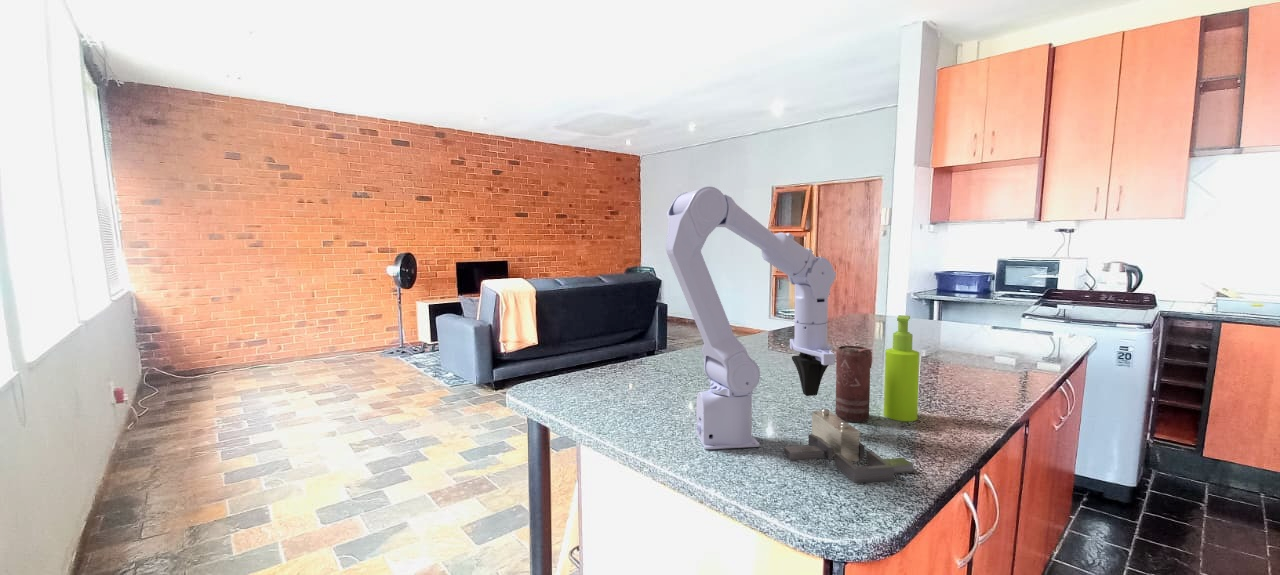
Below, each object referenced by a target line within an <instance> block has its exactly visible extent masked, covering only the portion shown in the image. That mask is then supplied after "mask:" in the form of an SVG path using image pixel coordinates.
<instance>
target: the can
mask: <svg viewBox="0 0 1280 575" xmlns="http://www.w3.org/2000/svg"><path fill="white" fill-rule="evenodd" d="M835 362H836V363H835V364H836V365H835V374H836V375H835V415H836V416H837V417H839V418H840V419H842V420H843V421H845V422H848V423H857V424H858V423H865V422H867V421H868V420H869V418H870V399H871V398H870V397H871V396H870V395H871V394H870V393H871V369H872V363H873V352H872V350H871V349H870V348H867V347H863V346H858V345H841V346H839V347H838V348H837V350H836V354H835Z"/></svg>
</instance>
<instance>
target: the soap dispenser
mask: <svg viewBox="0 0 1280 575" xmlns="http://www.w3.org/2000/svg"><path fill="white" fill-rule="evenodd" d="M896 319H897V320H896V321H897V325H898V326H897V331H895V332H893V334H892V348H888V349H886V350H885V354H884V355H885V356H884V357H885V362H884V364H885V366H884V394H883V395H884V396H883V397H884V398H883V401H884V402H883V403H884V404H883V415H884V416H885V417H886V418H888V419H890V420H894V421H899V422H915V421H917V420H918V410H919V409H918V405H919V403H918V402H919V374H920V352H919V351H918V350H914V349H913V333H911V332H910V331H909V329H908V328H909V321H910V319H911V315H903V314H902V315H898V316H897V318H896Z"/></svg>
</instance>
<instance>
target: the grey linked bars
mask: <svg viewBox="0 0 1280 575" xmlns="http://www.w3.org/2000/svg"><path fill="white" fill-rule="evenodd" d="M866 453H867V454H866V465H863V466H861V465H860V466H856V465H855V464H854V463H852V462H850V461H849V460H847V459H846V458H845V457H844V456H842V455H841V454H840V453H835V457H834V456H833V447H831V446H830V445H829V444H828V443H827V442H825V441H824V440H823V439H822V438H820V437H818V436H815V435H813V434H812V433H810V434H808V444H807V445H806V444H805V445H790V446H789V445H787V446H783V454H784V456H786V457H787V459H788V460H789V461H793V460H794V461H795V460H810V459H811V460H812V459H826V460H828V461H832V460H833V458H834V466H835V468H837V469H838V471H840V472H841V473H842V474H843V475H844V476H846V477H847V478H848V479H849V480H850V481H851V482H852V483H854V484H860V483H877V482H892V481H894V480H895V474H909V473H914V464H913V463H912V462H910V461H909V460H907V459H905V458H904V457H895V458H882V457H881V456H879V455H878V454H877V453H875V452H874V451H872V450H866ZM859 459H865V444H862V443H861V442H860V441H859Z"/></svg>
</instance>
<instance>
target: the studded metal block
mask: <svg viewBox="0 0 1280 575" xmlns="http://www.w3.org/2000/svg"><path fill="white" fill-rule="evenodd" d="M811 434H813V435H815V436H818V437H820V438H822V439H823V440H824V441H825V442H827V443H828V444H829V445H830V446H831V447H833V458H835V453H840V454H841V455H842V456H844V457H845V458H846V459H847V460H849V461H850V462H851V463H852V462H859V460H860V458H859V442H860V430H858V429H857V428H855V427H854V426H852V425H851V424H850V422H847V421H843V420H842V419H840V418H839V417H837V415H836V414H834V412H831V411H830V409H828V408H821V410H815V411H812V412H811Z"/></svg>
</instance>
